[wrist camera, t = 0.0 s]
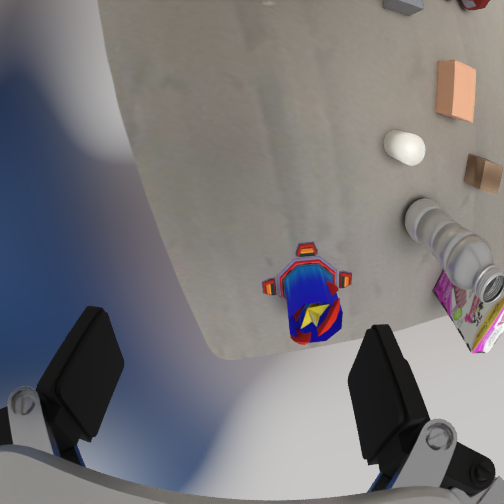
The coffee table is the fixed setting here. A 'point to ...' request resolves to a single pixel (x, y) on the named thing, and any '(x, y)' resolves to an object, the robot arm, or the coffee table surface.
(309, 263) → the fantasy tower
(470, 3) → the toy fire truck
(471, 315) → the candy bar box
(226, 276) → the coffee table surface
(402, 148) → the cream cylinder
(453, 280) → the plastic bottle
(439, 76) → the terracotta long brick
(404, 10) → the grey short brick
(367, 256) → the coffee table surface
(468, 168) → the walnut square block
